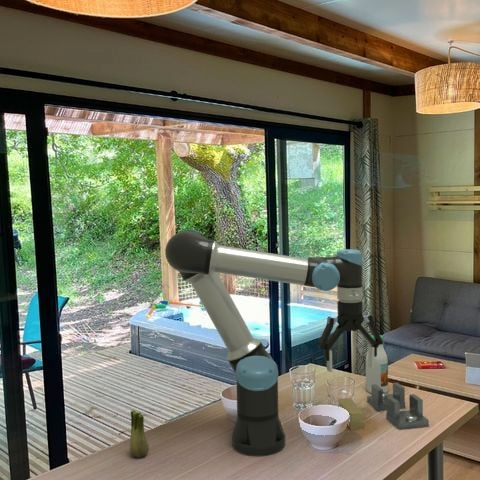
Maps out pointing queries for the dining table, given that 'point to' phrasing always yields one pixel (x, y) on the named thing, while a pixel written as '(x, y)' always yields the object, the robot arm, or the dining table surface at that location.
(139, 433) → the fennel bulb
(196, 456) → the dining table surface
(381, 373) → the milk bottle
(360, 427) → the link bar
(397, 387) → the chain end far
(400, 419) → the bracket
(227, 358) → the robot arm
